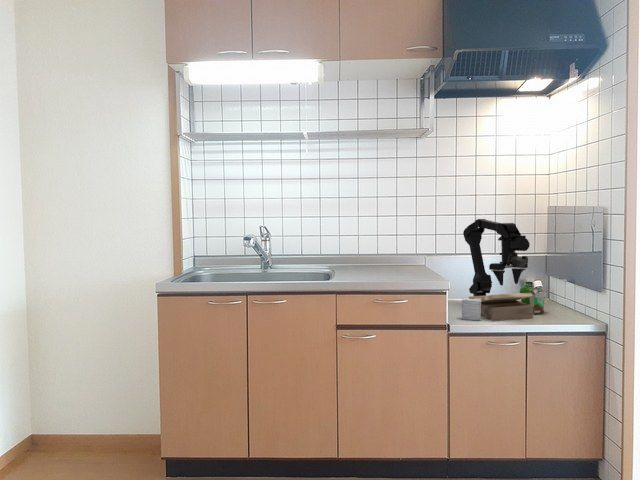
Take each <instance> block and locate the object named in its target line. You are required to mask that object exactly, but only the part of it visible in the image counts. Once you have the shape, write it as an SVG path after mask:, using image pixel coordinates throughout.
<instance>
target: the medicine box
mask: <svg viewBox="0 0 640 480" xmlns="http://www.w3.org/2000/svg"><path fill="white" fill-rule="evenodd" d="M481 318H482V316H481V300H480V299H469V298H462V300H461V320H462V321H463V320H464V321H466V320H467V321H481V320H482V319H481Z"/></svg>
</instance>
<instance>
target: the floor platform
mask: <svg viewBox="0 0 640 480" xmlns="http://www.w3.org/2000/svg"><path fill="white" fill-rule="evenodd" d="M490 295H491V294H490ZM490 295H489V294H488V295H486V296H473V295H472V296H468V299H480V298H484V297H487V296H490ZM481 318H484V319H487V320H490V321H492V322H495V321H497V322H499V321H510V320H523V319H524V320H525V319H533V318H534V314H533V305H530V304H526V303H523V302H521V301H520V300H516V301H500V302H483V303H481Z"/></svg>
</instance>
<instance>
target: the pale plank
mask: <svg viewBox="0 0 640 480" xmlns="http://www.w3.org/2000/svg"><path fill="white" fill-rule="evenodd" d="M486 296H487V297H484V298H480V300H481V303H483V302H500V301H521V299H524V298H527V297H531V296H532V293H520V292H519V293H505V294H504V293H502V294H501V293H499V294H490V296H488V295H486Z"/></svg>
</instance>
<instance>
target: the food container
mask: <svg viewBox="0 0 640 480" xmlns="http://www.w3.org/2000/svg"><path fill="white" fill-rule="evenodd" d="M530 293H532V296H531V297H530V304H529V305H533V315H542V314H544V310H545V299H546V297H548V296H547V292H546V291H545V290H543V289H539V288H536V289H530Z"/></svg>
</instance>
